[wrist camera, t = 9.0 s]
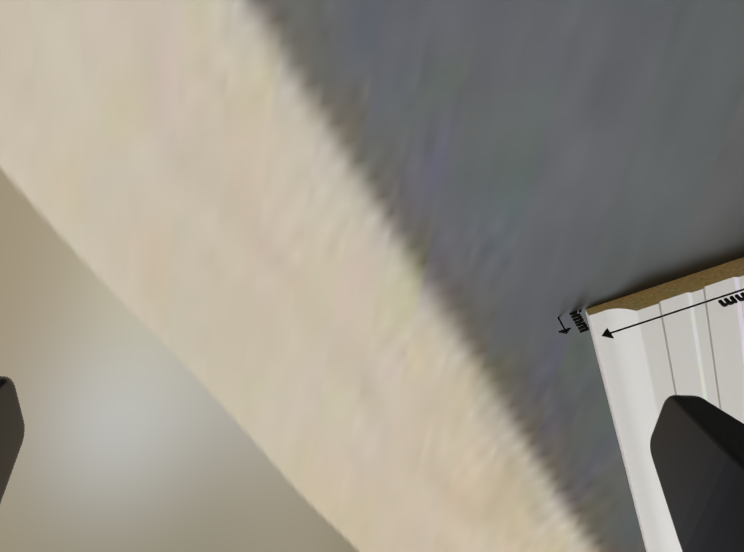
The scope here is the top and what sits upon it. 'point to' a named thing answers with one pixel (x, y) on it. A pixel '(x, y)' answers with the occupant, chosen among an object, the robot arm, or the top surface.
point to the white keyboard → (668, 370)
